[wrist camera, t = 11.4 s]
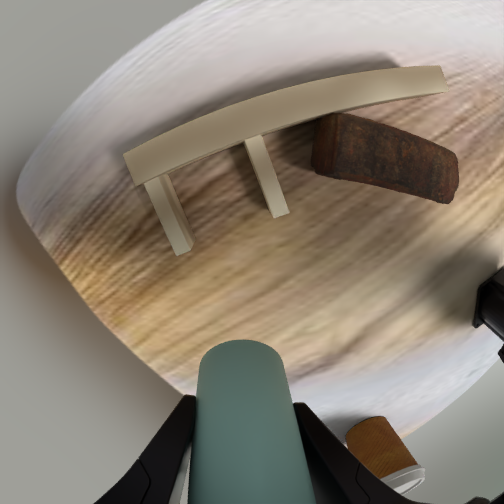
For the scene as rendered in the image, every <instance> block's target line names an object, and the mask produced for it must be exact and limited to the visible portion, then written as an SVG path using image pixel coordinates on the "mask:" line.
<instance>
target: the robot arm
mask: <svg viewBox="0 0 504 504" xmlns="http://www.w3.org/2000/svg"><path fill="white" fill-rule="evenodd" d="M483 323H484V324H485V325H486V326H487V327H488V328H489V329H491V330H492V331H493V332H494V333H495V334H496V335H497V336H498V337H499V338H500V339H501V340H503V341H504V268H503V269H502V270H501V271H499V272H498V273H497V274H495V275H494V276H493V277H491V278H490V279H489V280H487V281H486V282H484V283H483V284H482V285H480V287H479V289H478V296H477V304H476V312H475V319H474V325H473V326H474V328H478V327H479V326H480V325H482V324H483ZM498 355H499V356H500V358H501V360H502V362H503V363H504V344H503V346H502V348H501V349H500V350H499V352H498ZM195 405H196V396H194V395H187V394H186V395H184V396H183V398H182V399H181V400H180V401H179V403H178V404H177V406H176V407H175V408H174V410H173V411H172V413H171V414H170V415H169V417H168V418H167V420H166V421H165V422H164V424H163V425H162V426H161V428H160V429H159V431H158V432H157V433H156V435H155V436H154V437H153V439H152V440H151V441H150V443H149V444H148V446H147V447H146V448H145V450H144V451H143V452H142V453H141V455H140V456H139V459H137V460H136V461H135V463H134V464H133V465H132V467H131V468H130V469H129V470H128V471H127V473H126V474H125V475H124V476H123V477H122V478H121V479H120V480H119V481H118V482H117V483H116V484H115V485H114V486H113V487H112V488H111V489H110V490H109V491H107V492H106V493H105V494H104V495H103V496H102V497H101V498H100V499H99V500H97V501H96V502H95V503H94V504H180V499H181V495H182V490H183V486H184V481H185V477H186V472H187V467H188V463H189V459H190V455H191V445H192V435H193V426H194V415H195ZM293 407H294V411H295V415H296V419H297V424H298V428H299V432H300V436H301V440H302V445H303V449H304V453H305V457H306V461H307V466H308V470H309V474H310V478H311V483H312V487H313V491H314V495H315V500H316V504H430V503H420V502H415V501H412V500H409V499H407V498H405V497H404V496H402V495H401V494H399V493H398V492H396V491H395V490H393V489H392V488H391V487H389V486H388V485H387V484H385V483H384V482H383V481H381V480H380V479H379V478H378V477H376V476H375V475H374V474H373V473H372V472H371V471H369V470H368V469H367V468H366V467H365V466H364V465H363V464H362V463H361V462H359V460H358V459H357V458H356V457H355V456H354V455H353V454H352V453H351V452H350V451H349V450H348V449H347V448H346V447H345V446H344V445H343V444H342V443H341V441H340V440H339V439H338V438H337V437H336V436H335V435H334V434H333V433H332V432H331V431H330V430H329V429H328V428H327V427H326V426H325V424H324V423H323V422H322V421H321V420H320V419H319V418H318V417H317V416H316V415H315V414H314V412H313V411H312V410H311V409H310V408H309V407H308V406H307V405H306V404H305V403H303V402H295V403H293ZM465 504H504V492H503V493H502V494H500V495H499V496H497V497H496V498H494V499H493V500H492V501H489V500H488V499H486V498H483V497H475V498H473V499H471V500H470V501H468V502H467V503H465Z"/></svg>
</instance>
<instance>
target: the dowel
mask: <svg viewBox="0 0 504 504" xmlns="http://www.w3.org/2000/svg"><path fill="white" fill-rule="evenodd" d="M188 504H316V500H315V495H314V491H313V487H312V483H311V478H310V474H309V470H308V466H307V461H306V457H305V453H304V449H303V445H302V440H301V436H300V432H299V428H298V424H297V419H296V415H295V411H294V407H293V403H292V398H291V394H290V390H289V386H288V382H287V378H286V374H285V369H284V365H283V362H282V359H281V357H280V355H279V354H278V353H277V352H276V351H275V350H274V349H273V348H271V347H270V346H268V345H266V344H263V343H261V342H257V341H252V340H233V341H228V342H224V343H221V344H219V345H217V346H215V347H213V348H212V349H210V350H209V351H208V352H207V353H206V354H205V355H204V356H203V358H202V360H201V362H200V366H199V375H198V384H197V393H196V405H195V415H194V426H193V435H192V445H191V458H190V472H189V487H188Z"/></svg>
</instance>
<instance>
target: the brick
mask: <svg viewBox="0 0 504 504" xmlns="http://www.w3.org/2000/svg"><path fill="white" fill-rule="evenodd" d="M311 166H312V167H314V169H315V173H316V174H319V175H322V176H326V177H331V178H334V179H339V180H341V179H343V180H348V181H355V182H360V183H365V184H370V185H374V186H379V187H383V188H387V189H391V190H395V191H398V192H402V193H407V194H410V195H415V196H418V197H422V198H425V199H429V200H433V201H436V202H438V203H442V204H449V203H450V202H451V201H452V200H453V198H454V194H455V191H456V190H457V188H458V184H459V172H458V160H457V157H456V155H455V153H453V152H452V151H450V150H448V149H446V148H444V147H442V146H440V145H437V144H435V143H433V142H431V141H429V140H426V139H424V138H421V137H419V136H416V135H413V134H411V133H408V132H406V131H403V130H400V129H397V128H394V127H391V126H388V125H385V124H381V123H377V122H375V121H373V120H370V119H365V118H361V117H358V116H354V115H351V114H344V113H331V114H329V115H326V116H325V117H323V118H320V119H317V121H316V127H315V135H314V142H313V150H312V157H311Z"/></svg>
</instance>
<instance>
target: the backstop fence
mask: <svg viewBox="0 0 504 504" xmlns="http://www.w3.org/2000/svg"><path fill="white" fill-rule="evenodd" d="M444 92H450V91H449V88H448V86H447V83H446V80H445V77H444V74H443V72H442V69H441V67H440V66H413V67H399V68H389V69H380V70H372V71H365V72H358V73H352V74H346V75H340V76H335V77H330V78H325V79H320V80H316V81H311V82H307V83H303V84H299V85H295V86H291V87H287V88H284V89H280V90H277V91H273V92H270V93H266V94H263V95H260V96H257V97H254V98H250V99H247V100H244V101H242V102H239V103H236V104H233V105H230V106H227V107H225V108H222V109H219V110H217V111H214V112H212V113H209V114H206V115H204V116H202V117H199V118H197V119H194V120H192V121H190V122H187V123H185V124H183V125H180V126H178V127H176V128H174V129H172V130H170V131H167V132H165V133H163V134H161V135H159V136H157V137H155V138H153V139H151V140H149V141H147V142H145V143H143V144H141V145H139V146H137V147H135V148H133V149H132V150H130V151H128V152H126V153H124V154H123V157H124V159H125V162H126V164H127V167H128V169H129V172H130V174H131V177H132V179H133V182H134V184H135V186H138V185H141V184H144V185H145V188H146V190H147V192H148V195H149V197H150V199H151V202H152V204H153V206H154V208H155V211H156V213H157V215H158V217H159V220H160V222H161V224H162V226H163V228H164V231H165V233H166V235H167V237H168V239H169V241H170V243H171V246H172V248H173V250H174V252H175V254H176V256H178V255H181V254H183V253H186V252H188V251H191V248H192V246H193V244H194V242H195V240H196V238H195V236H194V234H193V231H192V229H191V227H190V225H189V222H188V220H187V218H186V216H185V213H184V211H183V209H182V206H181V204H180V202H179V199H178V197H177V195H176V192H175V190H174V187H173V185H172V183H171V180H170V178H169V175H168V174H169V173H171V172H173V171H175V170H177V169H180V168H182V167H184V166H186V165H189V164H191V163H193V162H196V161H198V160H201V159H203V158H205V157H208V156H210V155H213V154H215V153H218V152H220V151H223V150H225V149H228V148H230V147H233V146H236V145H238V144H241V143H244V146H245V148H246V151H247V153H248V156H249V159H250V161H251V164H252V166H253V169H254V172H255V174H256V177H257V179H258V182H259V185H260V187H261V190H262V193H263V195H264V198H265V201H266V204H267V206H268V209H269V211H270V213H271V214H272V216H273V218H277V217H280V216H282V215H285V214H288V213H289V210H288V207H287V204H286V201H285V198H284V196H283V193H282V190H281V187H280V184H279V182H278V179H277V176H276V173H275V171H274V168H273V165H272V162H271V160H270V157H269V154H268V152H267V149H266V147H265V144H264V141H263V139H262V136H264V135H267V134H270V133H273V132H276V131H279V130H282V129H285V128H288V127H291V126H295V125H298V124H301V123H305V122H308V121H312V120H315V119H319V118H323V117H325V116H326V115H329V114H331V113H342V112H346V111H351V110H355V109H359V108H364V107H368V106H373V105H378V104H383V103H389V102H394V101H400V100H406V99H412V98H419V97H424V96H429V95H434V94H439V93H444Z"/></svg>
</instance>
